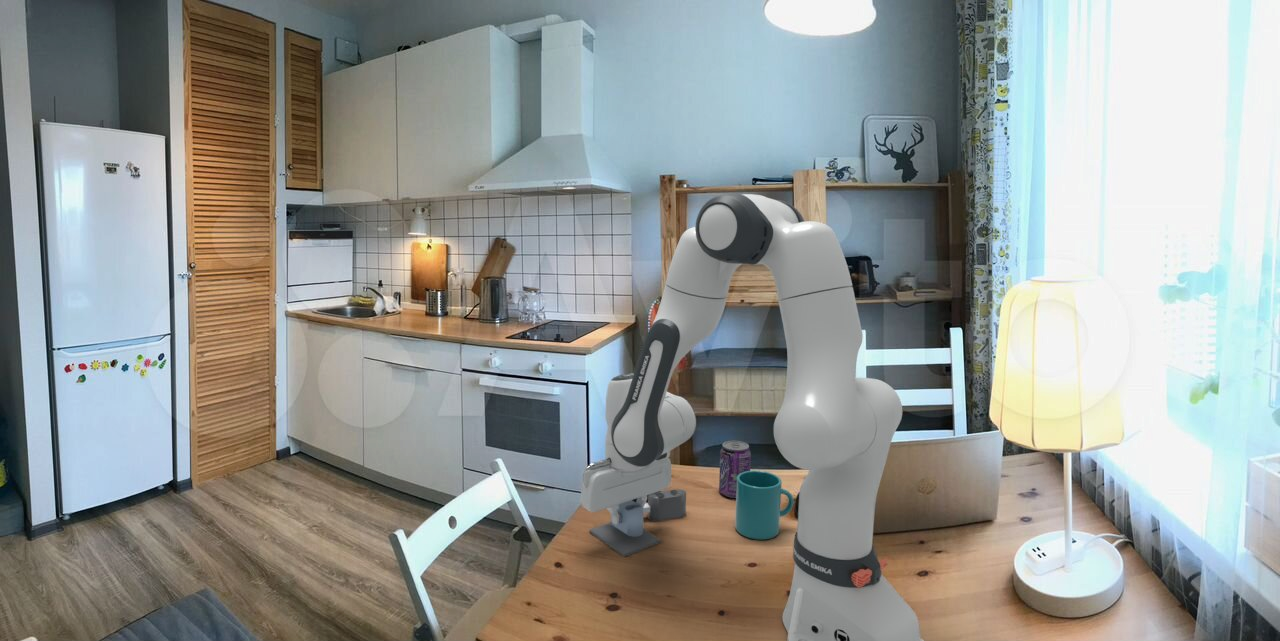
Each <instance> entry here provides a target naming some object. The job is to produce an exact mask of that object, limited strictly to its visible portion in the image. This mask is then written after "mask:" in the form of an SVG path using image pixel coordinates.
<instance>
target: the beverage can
mask: <svg viewBox="0 0 1280 641" xmlns="http://www.w3.org/2000/svg"><path fill="white" fill-rule="evenodd" d="M721 445H722V448H721V449H720V451H719V455H720V456H719V478H718V479H719V482H718V484H719V485H718V489H719V490H718V491H719V493H720V494H721V495H724V496H725V497H727V498H731V499H736V485H737V476H738V475H739V474H740V473H742V472H746V471H751V458H752V457H751V456H752V454H751V450H750V445H749V444H748V443H747V442H744V441H741V440H740V441H739V440H728V441H725V442H723V443H722V444H721Z"/></svg>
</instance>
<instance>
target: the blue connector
mask: <svg viewBox="0 0 1280 641" xmlns="http://www.w3.org/2000/svg"><path fill="white" fill-rule="evenodd" d="M605 510H607V511H608V512H610V511H609V510H608V508H606V509H605ZM616 511H617V512H618V513H620V514H622V515H623V519H622V520H623V522H622V523H620V524H617V525H615V524H614V523H612V514H611V513H610V522H611V524H612V525H613V526H615V527H616V528H618V529H619V530H621V531H622V532H624V533H625V534H627V535H629V536H633V537H636V536H640V535H642V534H643V529H644V513H643V507H642V506H641V505H639V504H637V503H636V502H634V501H632V500H631V501H628V502H624V503H621V504H619V508H618V509H616Z"/></svg>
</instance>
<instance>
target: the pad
mask: <svg viewBox="0 0 1280 641" xmlns="http://www.w3.org/2000/svg"><path fill="white" fill-rule="evenodd" d="M588 530H589V533H590V534H591V535H593V537H595V538H597V539H598V540H599V541H601V542H603V543H604V544H606V546H608V547H610V548H611V550H612V549H613V551H616V552H617V553H618V554H620V556H622V557H624V558H626V557H628V556H630V555H633V554H635V553H637V552H641V551H643V550H645V549H648V548H650V547H652V546H656V545H657V544H660V543H661V541H662V540H661V539H660V538H659V537H658V536H655V535H654V534H652V533H651V532H649V531H648V530H646V529H644V528H643V534H642V535H640V536H636V537H633V536H629V535H627V534H625V533H624V532H622V531H621V530H619V529H618V528H616V527H615V526H613V525H612V524H611V521H609V522H607V523H604V524H601V525H599V526H595V527H593V528H590V529H588Z"/></svg>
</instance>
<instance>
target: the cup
mask: <svg viewBox="0 0 1280 641" xmlns="http://www.w3.org/2000/svg"><path fill="white" fill-rule="evenodd" d="M782 483H783V482H782V478H780V477H779V476H778V475H776V474H774V473H771V472H768V471H763V470H750V471H746V472H742V473H740V474H739V475H738V476H737V485H736V498H735V518H734V519H735V521H734V523H735V524H734V527H735V529H736V531H737V532H738V533H739V534H740V535H742V536H743V537H744V538H745V537H746V538H749V539H753V540H757V541H759V540H760V541H761V540H770V539H774V538H775V537H776V536H777V535H778V534H779V532H780V526H781V525H780V524H781V517H785V516H786V515H788V514H789V513H790V512H791V511H792V509H793V506H794V497H793V495H792V493H791V492H789V490H787V489H785V488H782ZM782 495H784V496H786V497H787V500H788V503H787V506H786V507H785V508H784V509H782V510H781V507H782V506H781V502H782V500H781V499H782Z"/></svg>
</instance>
